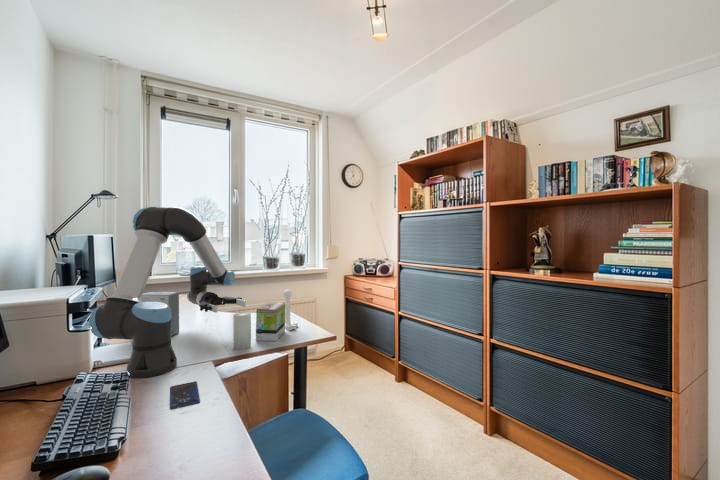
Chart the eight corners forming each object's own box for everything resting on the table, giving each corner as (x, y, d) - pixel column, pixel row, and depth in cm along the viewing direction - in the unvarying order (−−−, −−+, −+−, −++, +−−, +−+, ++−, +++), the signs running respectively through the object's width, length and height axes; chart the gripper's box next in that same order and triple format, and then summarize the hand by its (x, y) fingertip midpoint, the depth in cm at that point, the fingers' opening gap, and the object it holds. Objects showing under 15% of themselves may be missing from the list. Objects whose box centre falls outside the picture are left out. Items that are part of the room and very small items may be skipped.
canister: (239, 351, 135) (239, 317, 135) (230, 347, 139) (230, 314, 139) (254, 346, 140) (254, 314, 140) (244, 343, 145) (245, 311, 144)
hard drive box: (180, 332, 158) (179, 292, 158) (169, 338, 151) (169, 295, 150) (150, 331, 160) (150, 291, 160) (138, 336, 152) (138, 294, 152)
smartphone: (196, 380, 107) (200, 401, 94) (196, 383, 107) (200, 404, 94) (170, 386, 103) (169, 408, 90) (170, 388, 103) (169, 411, 90)
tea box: (277, 341, 147) (277, 309, 147) (255, 341, 148) (255, 308, 147) (285, 331, 162) (285, 302, 162) (265, 331, 163) (265, 301, 162)
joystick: (279, 325, 172) (279, 288, 171) (293, 323, 176) (293, 286, 176) (287, 331, 163) (287, 291, 162) (301, 328, 167) (301, 290, 166)
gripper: (231, 302, 170) (255, 309, 156) (181, 312, 150) (203, 320, 137) (231, 288, 169) (255, 293, 156) (181, 296, 150) (203, 303, 136)
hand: (231, 306), depth 146 cm, fingers open, 13 cm apart
